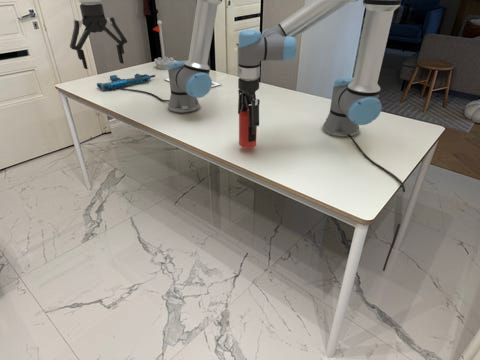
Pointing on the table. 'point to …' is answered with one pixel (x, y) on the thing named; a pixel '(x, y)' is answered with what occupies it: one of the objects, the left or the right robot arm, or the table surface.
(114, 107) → the table surface
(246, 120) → the canister
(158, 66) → the flag stand
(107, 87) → the submachine gun
